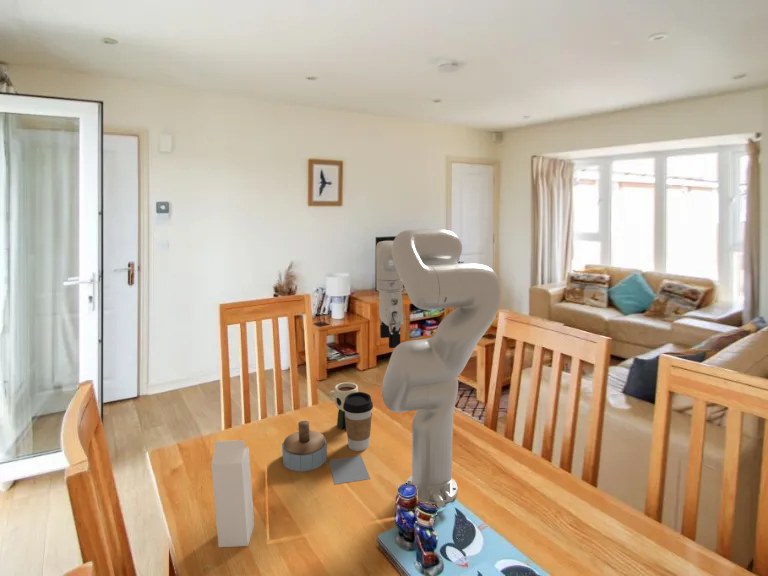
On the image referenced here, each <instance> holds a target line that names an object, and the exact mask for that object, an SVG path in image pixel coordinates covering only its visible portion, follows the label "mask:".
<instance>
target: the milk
mask: <svg viewBox="0 0 768 576" xmlns="http://www.w3.org/2000/svg"><path fill="white" fill-rule="evenodd" d="M245 445H246V442H245V441H244V440H243V439H241V440H239V439H238V440H215V441H214V451H213V455H212V460H211V463H210V464H211V473H212V474H211V477H212V488H213V499H214V509H215V510H214V511H215V522H216V532H217V541H218V542H217V544H218V545H217V546H218V548H234V547H249V543H250V540H251V538H252V535H253V531H254V529H255V518H254V515H255V514H254V504H253V500H254V499H253V490H252V474H251V473H252V472H251V462H250V447H249V446H245Z"/></svg>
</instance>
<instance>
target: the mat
mask: <svg viewBox="0 0 768 576" xmlns="http://www.w3.org/2000/svg"><path fill="white" fill-rule="evenodd" d="M328 464H329V465H328V466H329V468H330V472H331V476H332V479H333V484H334V485H340V484H341V485H342V484H347V483H353V482H360V481H364V480H365V481H366V480H371V477H370V475H369V471H368V469H367V467H366V464H365V461H364V459H363V457H362V455H356V456H355V455H354V456H349V457H342V458H336V459H328Z"/></svg>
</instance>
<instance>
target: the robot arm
mask: <svg viewBox="0 0 768 576" xmlns="http://www.w3.org/2000/svg"><path fill="white" fill-rule="evenodd" d="M462 251H463V245H462V242H461V239H460V237H459V236H458V235H457V234H456V233H455V232H453V231H451V230H448V229H444V228H429V229H428V228H427V229H426V228H425V229H423V228H421V229H406V230H403V231H400V232H399V233H398V234H397V235H396V236H395V238H394V239H393V240H383V241H378V242H377V244H376V247H375V263H376V264H375V266H376V267H375V270H376V271H375V272H376V274H375V275H376V276H375V277H376V278H375V279H376V286H375V287H376V291H378V292H379V294H378V297H379V298H378V315H379V316H378V317H379V319H380V320H379V324H380V325H379V335H380V339H387V338H388V348H389V349H393V350H392V352H391V355H390V358H389V362H388V364H387V367H386V370H385V374H384V375H383V380H382V384H381V385H382V386H381V394H382V401H383V402H384V405H385V406H386V408H388V410H389V411H391V412H393V413H407V412H413V411H416V412H415V413H414V416H413V418H412V425H411V427H412V428H411V429H412V431H411V433H412V434H411V441H412V442H411V475H410V476H408V478H407V479H406V481H405V484H406V483H412V484H414V485H416V486H417V489H418V501H417V502H418V503H420V502H428V503H431V504H434V505H433V506H436V507H437V508H439V509H442V508H443V507H444V506H445V505H446V504H447V503H449V502H452V501H454V500H455V499H456V497H457V496H458V491H459V487H458V484H457V482H456V480H455V479H454V478H453V477H452V476H453V475H452V470H453V467H452V466H453V433H454V431H453V430H454V413H455V412H454V411H455V406H456V400H457V396H458V391H459V381H458V380H459V379H458V377H459V376H460V375H461V374H462V372H463V371H464V369H465V367H466V365H467V363H468V361H469V360H470V358H471V356H472V354H473V353H474V351H475V348H476V346H477V345H478V344H479V341H481V339H482V338H483V336H484V335H485V333H487V331H488V330H489V329H490V327H491V325H492V324H493V322H494V320H495V318H496V316H497V314H498V311H499V308H500V303H501V297H502V295H501V283H500V279H499V277H498V276H499V275H497V273H496V271H494V270H493V268H491V267H489V266H487V265H486V264H481V263H473V262H472V263H471V262H470V263H469V262H467V263H466V262H461V263H456V262H458V261H459V259H460V257H461V255H462ZM403 290H405V291H406V294H407V295H408V298H409V300H410V302H411V303H412V305H413V306H415V307H416V308H417V309H420V310H425V311H432V310H440V309H450V308H451V309H452V308H455V309H454V310H452V311H451V312H450V313H448V314H447V315H446V316H445V317H443V319H442V320H441V321H440V323H439V324H438V326H437V329H436V331H435V333H434V335H433V336H431V337H428V338H422V339H416V340H415V339H414V340H407V341H403V342H401V329H402V328H401V326H403V325H404V309H403V308H404V307H403V305H404V303H403V295H402V291H403Z"/></svg>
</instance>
